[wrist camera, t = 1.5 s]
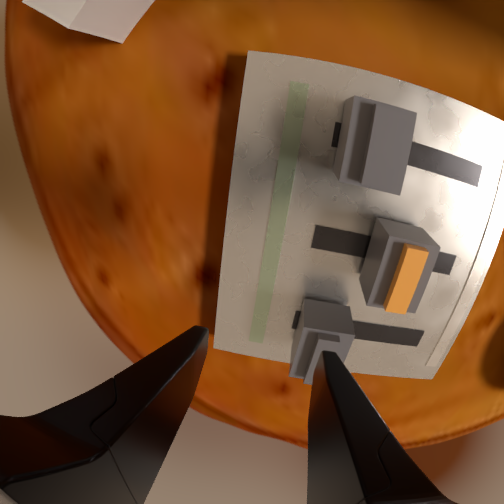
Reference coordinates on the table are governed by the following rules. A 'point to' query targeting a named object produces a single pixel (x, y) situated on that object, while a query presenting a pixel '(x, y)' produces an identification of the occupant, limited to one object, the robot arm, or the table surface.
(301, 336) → the breaker
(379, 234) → the breaker
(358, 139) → the block
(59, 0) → the white cube
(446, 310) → the panel
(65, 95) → the table surface
